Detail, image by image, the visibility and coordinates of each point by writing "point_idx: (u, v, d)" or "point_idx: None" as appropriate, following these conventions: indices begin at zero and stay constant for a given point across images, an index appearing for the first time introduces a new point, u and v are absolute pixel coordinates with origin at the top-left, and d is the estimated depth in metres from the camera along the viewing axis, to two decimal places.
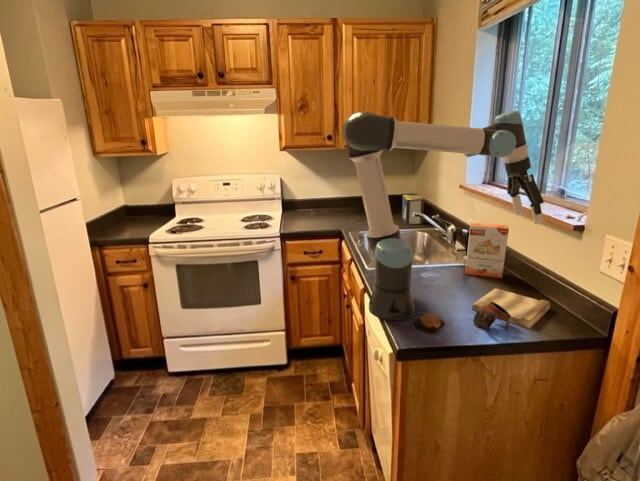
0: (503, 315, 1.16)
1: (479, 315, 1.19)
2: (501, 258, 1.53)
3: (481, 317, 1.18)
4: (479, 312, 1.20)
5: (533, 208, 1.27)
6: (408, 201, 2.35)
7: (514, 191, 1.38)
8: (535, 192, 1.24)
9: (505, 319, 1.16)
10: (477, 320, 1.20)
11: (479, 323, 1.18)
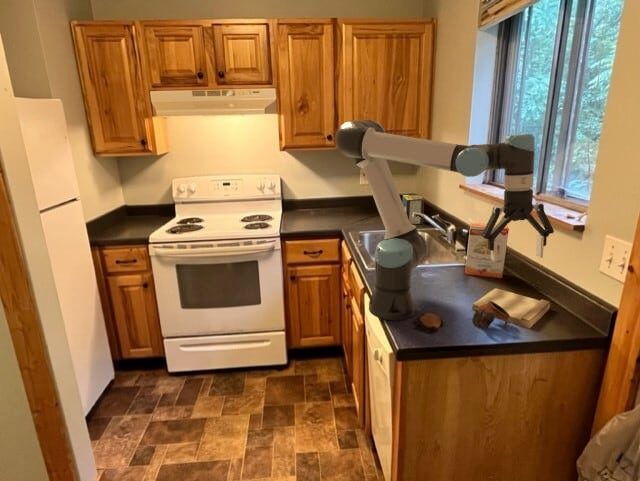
0: (502, 315, 1.16)
1: (478, 315, 1.19)
2: (501, 258, 1.53)
3: (480, 317, 1.18)
4: (478, 312, 1.20)
5: None
6: (408, 201, 2.35)
7: (535, 227, 1.17)
8: (488, 225, 1.17)
9: (504, 319, 1.16)
10: (476, 320, 1.20)
11: (478, 323, 1.19)
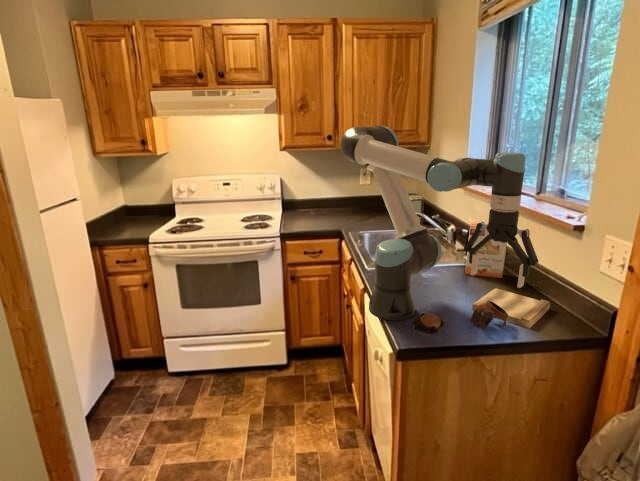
0: (500, 314, 1.16)
1: (477, 314, 1.20)
2: (501, 258, 1.53)
3: (479, 316, 1.19)
4: (477, 311, 1.20)
5: None
6: None
7: None
8: None
9: (502, 318, 1.17)
10: (474, 319, 1.20)
11: (477, 322, 1.19)
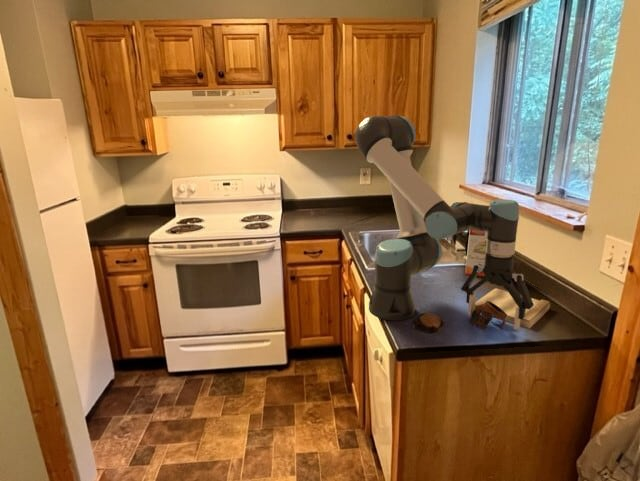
0: (499, 314, 1.16)
1: (476, 314, 1.20)
2: None
3: (478, 316, 1.19)
4: (475, 311, 1.20)
5: None
6: None
7: None
8: None
9: (501, 318, 1.17)
10: (473, 320, 1.20)
11: (476, 322, 1.19)
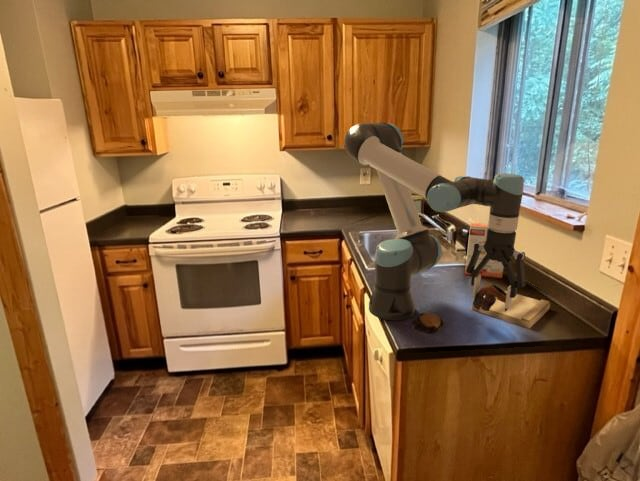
0: (503, 297, 1.14)
1: (479, 297, 1.18)
2: None
3: (481, 299, 1.17)
4: (479, 294, 1.18)
5: None
6: None
7: None
8: None
9: (505, 301, 1.15)
10: (476, 302, 1.18)
11: (479, 305, 1.17)
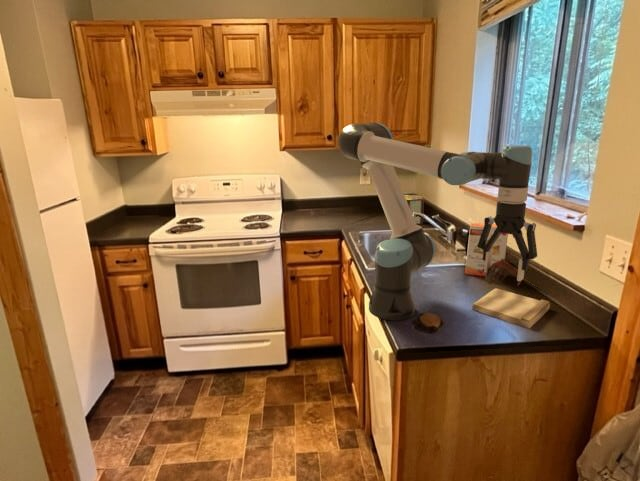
0: (515, 270, 1.14)
1: (490, 271, 1.18)
2: (501, 258, 1.53)
3: (492, 273, 1.17)
4: (491, 269, 1.18)
5: None
6: (408, 201, 2.35)
7: None
8: None
9: (517, 274, 1.14)
10: (488, 277, 1.18)
11: (490, 279, 1.17)
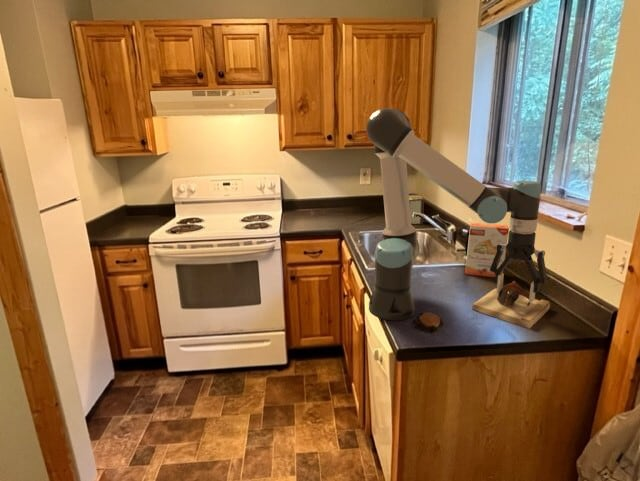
0: (526, 293, 1.25)
1: (503, 293, 1.29)
2: (501, 258, 1.53)
3: (505, 295, 1.28)
4: (503, 290, 1.29)
5: None
6: None
7: None
8: None
9: (528, 296, 1.26)
10: (501, 298, 1.29)
11: (503, 300, 1.28)
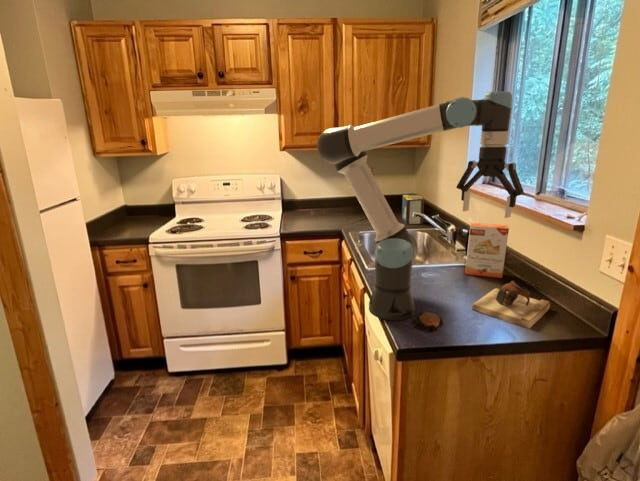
0: (524, 292, 1.26)
1: (502, 293, 1.29)
2: (501, 258, 1.53)
3: (504, 294, 1.28)
4: (502, 290, 1.29)
5: None
6: (408, 201, 2.35)
7: None
8: None
9: (526, 296, 1.26)
10: (500, 298, 1.29)
11: (502, 300, 1.28)
